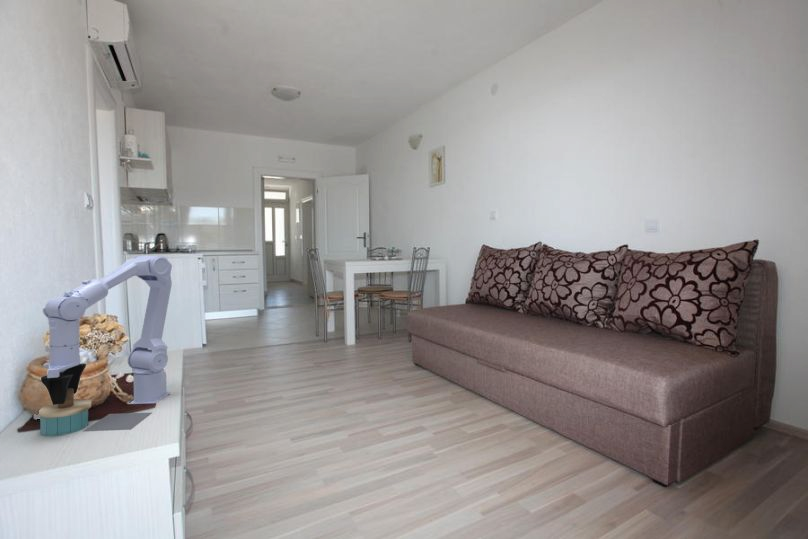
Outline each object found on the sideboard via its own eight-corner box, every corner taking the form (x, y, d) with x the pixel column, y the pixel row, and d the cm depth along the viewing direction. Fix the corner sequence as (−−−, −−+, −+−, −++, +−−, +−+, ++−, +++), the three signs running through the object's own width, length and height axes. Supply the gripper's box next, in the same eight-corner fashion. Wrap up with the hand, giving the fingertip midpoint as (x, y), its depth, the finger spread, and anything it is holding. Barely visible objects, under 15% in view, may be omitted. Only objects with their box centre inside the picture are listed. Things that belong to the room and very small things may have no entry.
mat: (109, 415, 109) (109, 413, 109) (152, 414, 110) (152, 412, 110) (82, 433, 98) (82, 431, 98) (131, 431, 99) (131, 429, 99)
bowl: (58, 423, 103) (58, 404, 103) (96, 421, 105) (96, 403, 105) (30, 438, 95) (30, 417, 94) (72, 436, 96) (72, 416, 96)
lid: (58, 403, 104) (58, 384, 104) (100, 402, 105) (100, 383, 105) (27, 418, 94) (27, 397, 94) (74, 417, 95) (74, 396, 95)
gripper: (56, 340, 104) (56, 391, 105) (30, 352, 91) (30, 411, 91) (89, 338, 107) (89, 388, 107) (68, 350, 94) (69, 407, 94)
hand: (65, 398), depth 99 cm, fingers open, 7 cm apart
